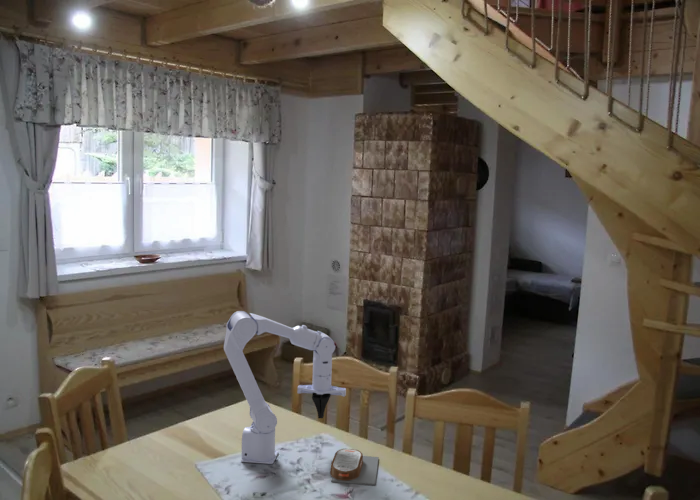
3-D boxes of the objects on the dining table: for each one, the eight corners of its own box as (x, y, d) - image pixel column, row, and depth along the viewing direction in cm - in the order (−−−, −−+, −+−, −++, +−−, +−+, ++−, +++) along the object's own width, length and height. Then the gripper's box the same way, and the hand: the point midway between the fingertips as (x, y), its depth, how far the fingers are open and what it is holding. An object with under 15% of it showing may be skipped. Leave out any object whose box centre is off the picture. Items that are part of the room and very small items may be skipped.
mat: (331, 481, 163) (331, 480, 163) (338, 455, 179) (338, 454, 179) (375, 485, 162) (375, 483, 162) (378, 458, 178) (378, 457, 178)
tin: (327, 479, 164) (357, 484, 163) (328, 468, 163) (359, 473, 162) (336, 454, 179) (364, 459, 177) (337, 444, 178) (365, 449, 177)
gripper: (295, 376, 177) (294, 420, 178) (344, 379, 175) (343, 423, 177) (300, 369, 184) (299, 411, 185) (347, 371, 182) (345, 414, 184)
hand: (321, 417), depth 182 cm, fingers closed
